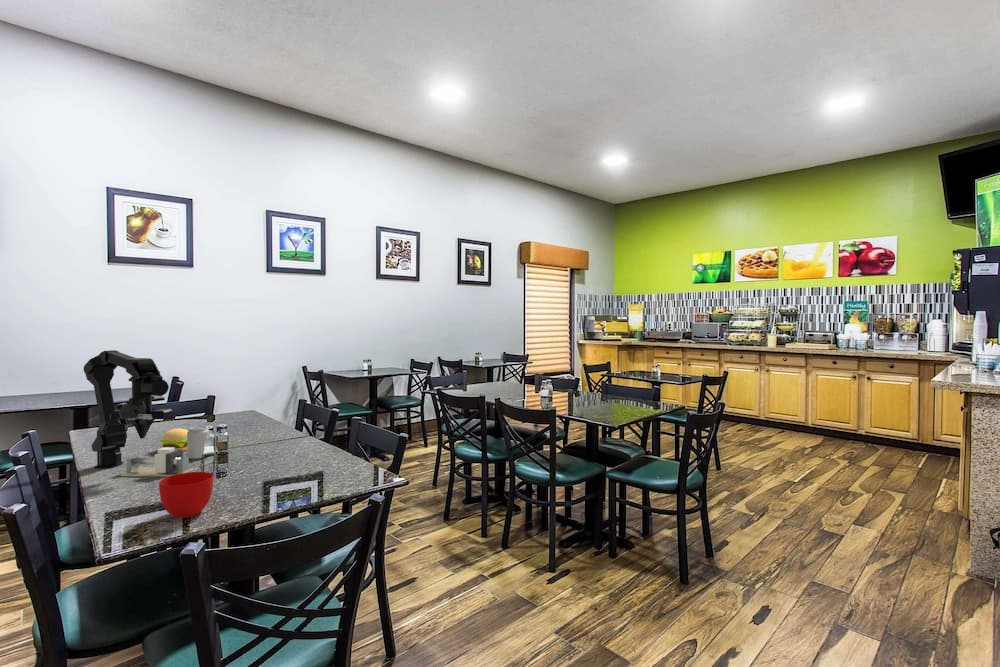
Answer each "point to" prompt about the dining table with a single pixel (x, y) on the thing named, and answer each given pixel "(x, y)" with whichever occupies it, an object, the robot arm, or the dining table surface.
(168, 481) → the red bowl
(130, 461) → the beige mechanical fixture
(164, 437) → the hamburger
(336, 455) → the dining table surface
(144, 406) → the robot arm
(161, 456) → the bracket
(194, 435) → the can
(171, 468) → the block
